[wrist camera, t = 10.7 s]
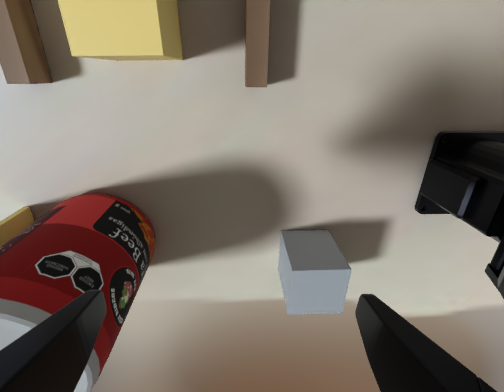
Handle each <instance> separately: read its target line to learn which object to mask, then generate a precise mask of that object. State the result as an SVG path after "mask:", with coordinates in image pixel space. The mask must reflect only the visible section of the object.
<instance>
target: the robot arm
mask: <svg viewBox="0 0 504 392" xmlns="http://www.w3.org/2000/svg"><path fill="white" fill-rule="evenodd" d="M445 136H446V138H445V140H444V141H443V142H442V140H443V138H444V137H445ZM423 206H424V207H423ZM422 207H423V208H422ZM421 208H422V209H421ZM415 210H416V211H417V212H419V213H420V214H452V215H454V216H455V217H457V218H459V219H461V220H463V221H464V222H466V223H467V224H469V225H471V226H472V227H474V228H475V229H477V230H478V231H480V232H481V233H483V234H484V235H486V236H489V237H491V238H493V239H494V240H496V241H498V242H499V245H498V247H497V250H496V252H495V254H494V256H493V258H492V261H491V263H489V264H488V265H487V267H486V269H485V272H486V274H487V275H488V277H489V278H490V279H491V281H492V282H493V284H494V285H495V286H496V288H497V289H498V291H499V292H500V293H501V295H502V297H503V299H504V132H456V131H444V132H441V133H439V134H438V135H437V136H436V138H435V141H434V145H433V148H432V151H431V155H430V158H429V161H428V164H427V168H426V171H425V174H424V178H423V181H422V184H421V188H420V191H419V194H418V198H417V201H416V204H415ZM105 315H106V303H105V299H104V294H103V292H102V291H101V290H88V291H86V292H84V293H83V294H82V295H80V296H79V297H77V298H76V299H74V300H73V301H71V302H70V303H68V304H67V305H66V306H64V307H63V308H61V309H60V310H58V311H57V312H55V313H54V314H53V315H51V316H50V317H48V318H47V319H45V320H44V321H42V322H41V323H39V324H38V325H37V326H35V327H34V328H32V329H31V330H29V331H28V332H26V333H25V334H23V335H22V336H21V337H19V338H18V339H16V340H15V341H13V342H12V343H10V344H9V345H7V346H6V347H5V348H3V349H2V350H0V392H74V390H75V388H76V386H77V384H78V382H79V380H80V378H81V376H82V374H83V372H84V370H85V367H86V365H87V363H88V361H89V358H90V356H91V353H92V350H93V348H94V345H95V342H96V339H97V337H98V334H99V331H100V329H101V326H102V323H103V320H104V318H105ZM356 319H357V322H358V326H359V329H360V333H361V336H362V340H363V343H364V347H365V350H366V354H367V357H368V360H369V363H370V365H371V368H372V371H373V373H374V376H375V379H376V381H377V384H378V386H379V389H380V391H381V392H497V391H496V390H494V389H493V388H492V387H491V386H489V385H488V384H487V383H486V382H484V381H483V380H482V379H480V378H479V377H477V376H476V375H475V374H474V373H473V372H471V371H470V370H469V369H468V368H466V367H465V366H464V365H463V364H461V363H460V362H459V361H457V360H456V359H455V358H453V357H452V356H451V355H450V354H448V353H447V352H446V351H445V350H443V349H442V348H441V347H440V346H438V345H437V344H436V343H434V342H433V341H432V340H430V339H429V338H428V337H427V336H426V335H424V334H423V333H422V332H421V331H419V330H418V329H417V328H415V327H414V326H413V325H412V324H410V323H409V322H408V321H407V320H405V319H404V318H403V317H401V316H400V315H399V314H398V313H396V312H395V311H394V310H393V309H391V308H390V307H389V306H387V305H386V304H385V303H384V302H382V301H381V300H380V299H379V298H377V297H376V296H375V295H373V294H362V295H361V296H360V298H359V301H358V304H357V308H356Z"/></svg>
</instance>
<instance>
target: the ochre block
mask: <svg viewBox="0 0 504 392" xmlns="http://www.w3.org/2000/svg"><path fill="white" fill-rule="evenodd" d="M58 4H59V8H60V11H61V15H62V19H63V23H64V27H65V31H66V35H67V38H68V42H69V46H70V50H71V54H72V56H77V57H87V58H96V59H106V60H116V61H130V60H183V55H182V45H181V36H180V26H179V17H178V7H177V0H58Z"/></svg>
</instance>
